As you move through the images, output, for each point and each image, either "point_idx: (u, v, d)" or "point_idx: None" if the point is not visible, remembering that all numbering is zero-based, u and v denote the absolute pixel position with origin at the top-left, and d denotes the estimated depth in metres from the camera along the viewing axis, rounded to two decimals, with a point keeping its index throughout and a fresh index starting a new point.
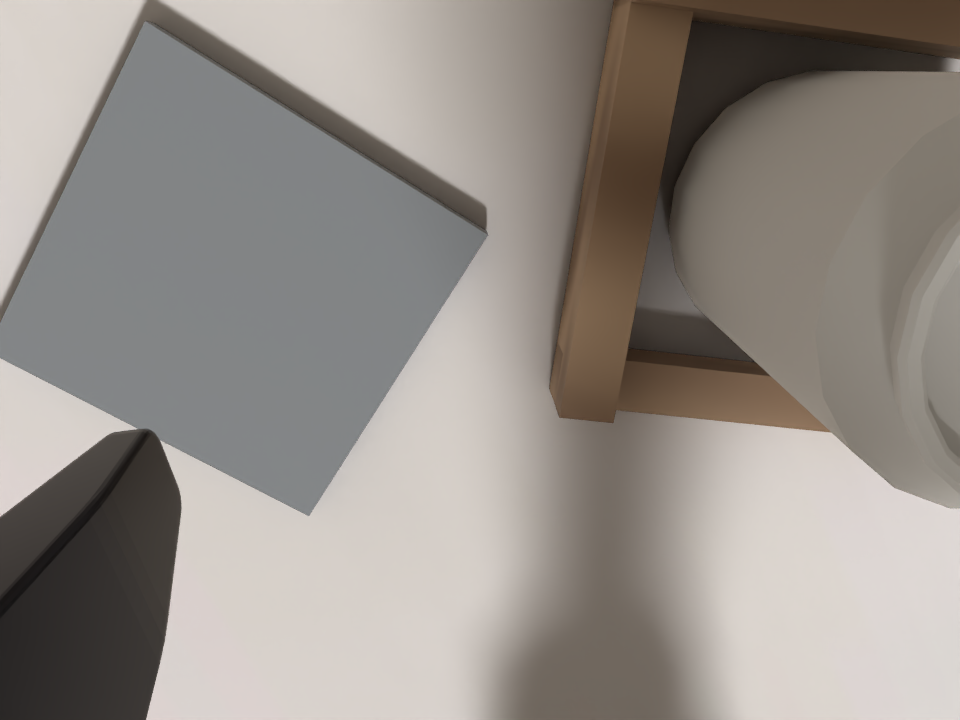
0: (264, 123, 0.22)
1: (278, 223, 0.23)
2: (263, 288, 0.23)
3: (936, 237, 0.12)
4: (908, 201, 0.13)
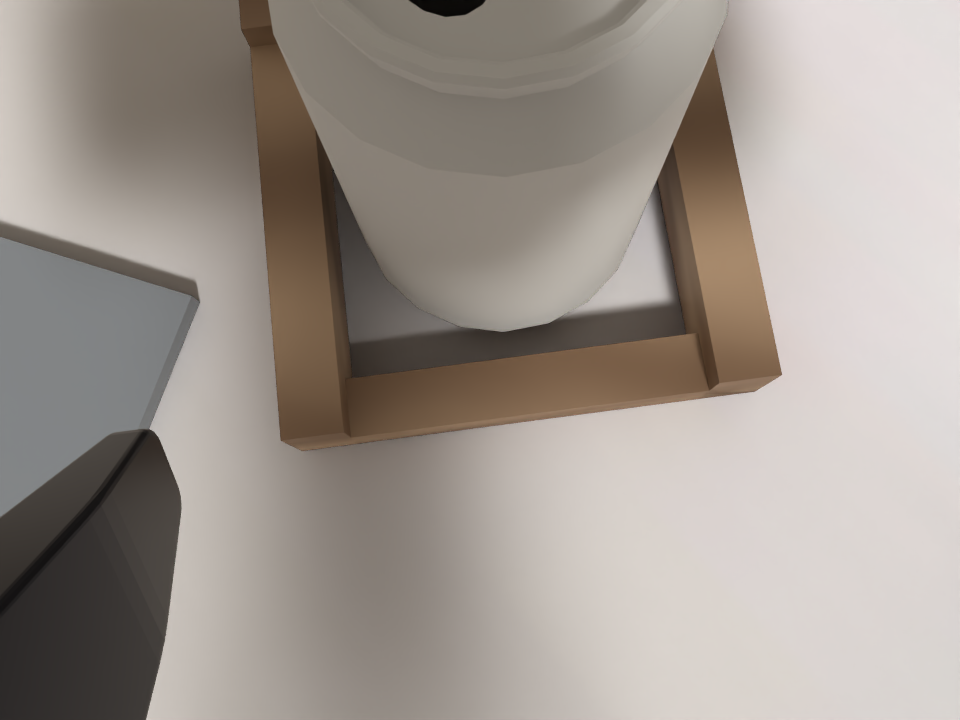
0: None
1: None
2: None
3: None
4: None
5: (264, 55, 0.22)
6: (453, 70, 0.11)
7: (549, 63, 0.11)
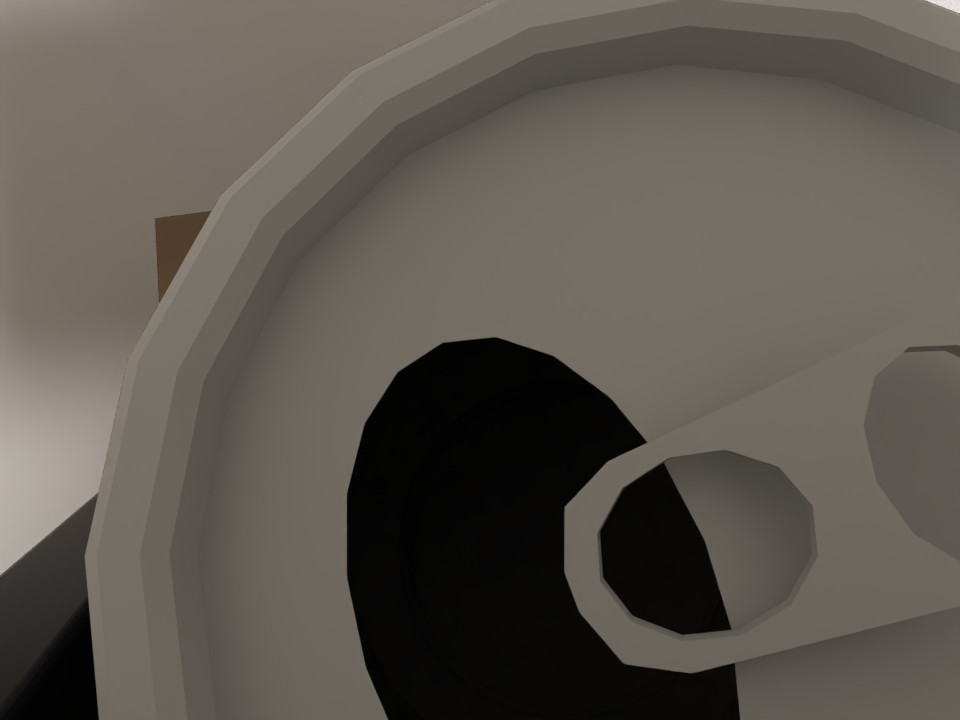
0: None
1: None
2: None
3: None
4: None
5: None
6: None
7: None
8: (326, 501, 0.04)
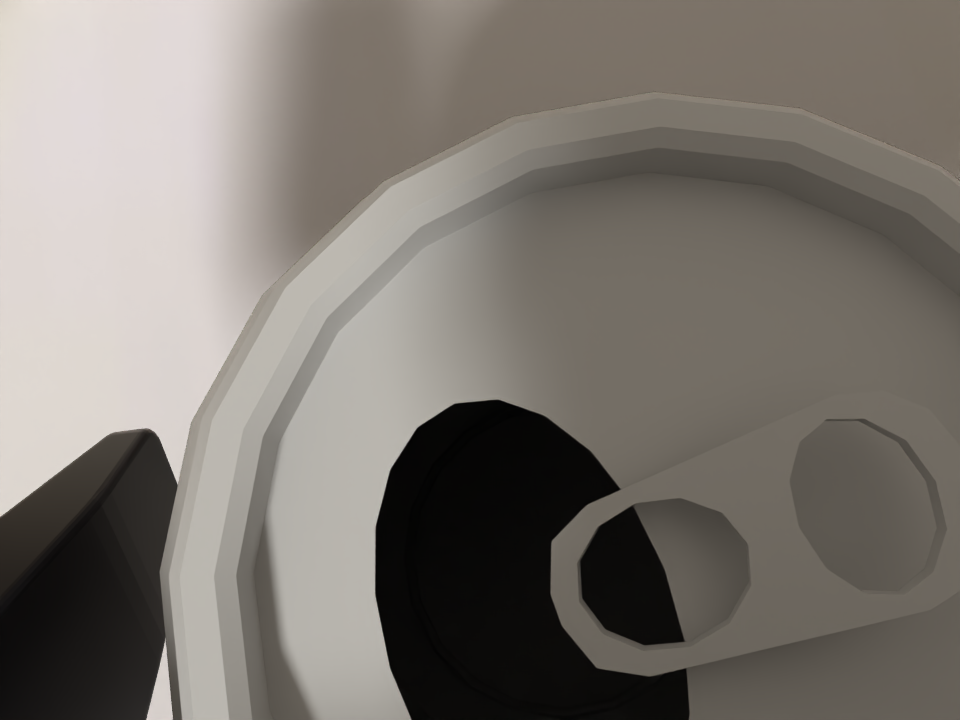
0: None
1: None
2: None
3: None
4: None
5: None
6: None
7: None
8: (358, 531, 0.06)
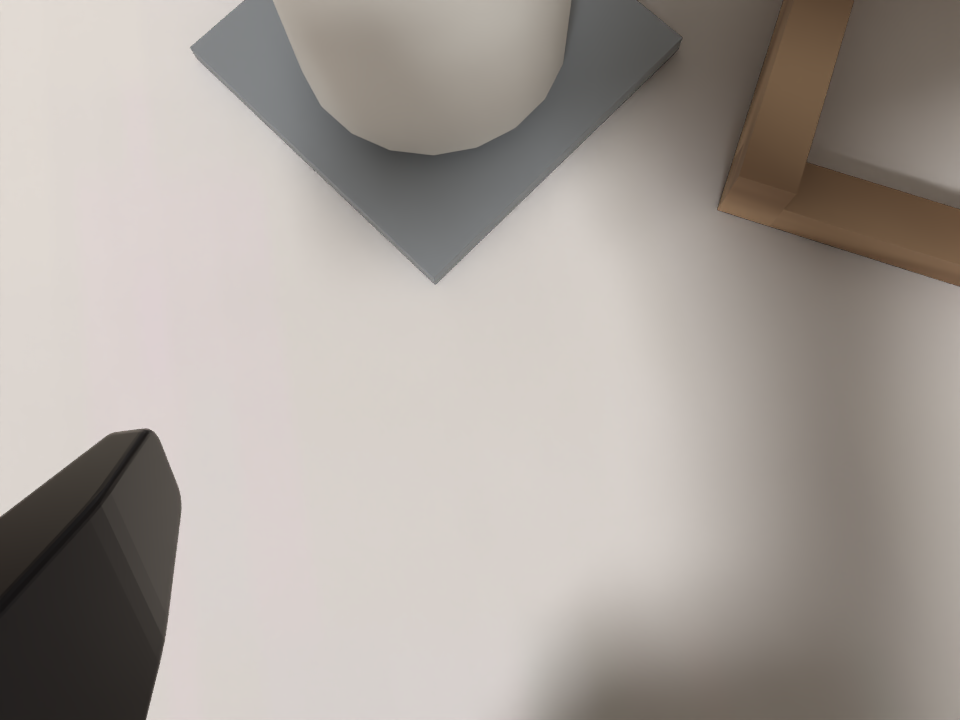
0: None
1: None
2: None
3: None
4: None
5: None
6: None
7: None
8: None
